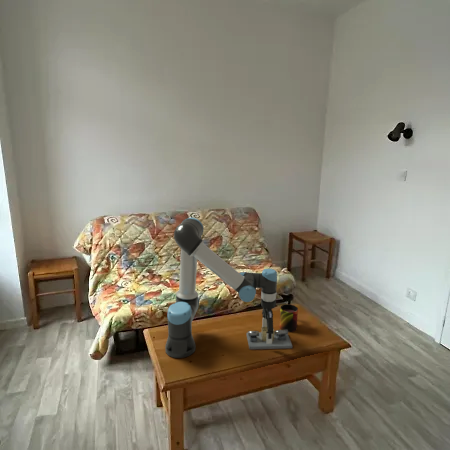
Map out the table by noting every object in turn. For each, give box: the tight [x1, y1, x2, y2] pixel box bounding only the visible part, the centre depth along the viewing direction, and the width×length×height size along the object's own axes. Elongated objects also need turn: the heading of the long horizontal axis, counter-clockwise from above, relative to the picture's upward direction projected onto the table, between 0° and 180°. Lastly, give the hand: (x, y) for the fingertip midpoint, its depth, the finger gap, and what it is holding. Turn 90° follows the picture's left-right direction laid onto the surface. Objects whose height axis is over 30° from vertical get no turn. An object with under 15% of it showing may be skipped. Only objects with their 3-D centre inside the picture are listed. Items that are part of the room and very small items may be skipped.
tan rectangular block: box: [260, 326, 275, 341], centre depth 180 cm, size 6×4×6 cm
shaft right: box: [274, 329, 289, 341], centre depth 182 cm, size 7×4×5 cm
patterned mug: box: [279, 303, 299, 333], centre depth 196 cm, size 10×14×12 cm
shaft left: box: [247, 330, 259, 342], centre depth 180 cm, size 6×4×5 cm
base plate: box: [246, 331, 293, 350], centre depth 181 cm, size 22×13×2 cm, turn 93°
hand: (266, 335), depth 181 cm, fingers open, 13 cm apart
